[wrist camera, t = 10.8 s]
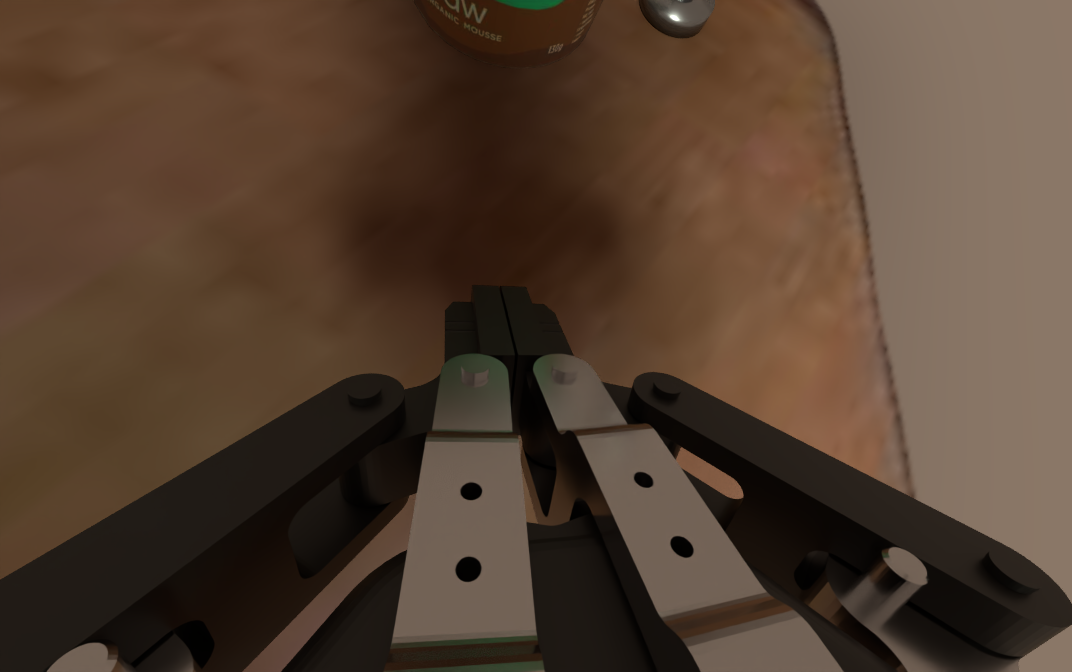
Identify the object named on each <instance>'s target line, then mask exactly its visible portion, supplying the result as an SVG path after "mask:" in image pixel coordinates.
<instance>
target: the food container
mask: <svg viewBox="0 0 1072 672" xmlns="http://www.w3.org/2000/svg"><path fill="white" fill-rule="evenodd" d="M602 1H603V0H414V3H415V5H416V6H417V8H418V9H419V11H420V13H421V14H422V16H423V17H424V19H425V20H426V22H427V24H428V25H429V27H430V28H431V29H432V30H433V31H434V32H436V33H437V34H438V35H439V36H440V37H441V38H442V39H443V40H444V41H445V42H447V43H448V44H449V45H451V46H452V47H454V48H455V49H457V50H458V51H460V52H462V53H464V54H466V55H468V56H470V57H472V58H474V59H476V60H479V61H482V62H485V63H488V64H492V65H496V66H501V67H508V68H533V67H539V66H543V65H548V64H550V63H553V62H556V61H558V60H560V59H562V58H564V57H565V56H567V55H568V54H570V53H571V52H572V51H573V50H575V49H576V48H577V47H578V46H579V45H580V43H581V42H582V40H583V39H584V38H585V36H586V34H587V32H588V30H589V28H590V26H591V24H592V22H593V20H594V18H595V16H596V14H597V12H598V10H599V8H600V6H601V3H602Z"/></svg>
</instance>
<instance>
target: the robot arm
mask: <svg viewBox="0 0 1072 672" xmlns="http://www.w3.org/2000/svg"><path fill="white" fill-rule="evenodd" d="M518 435H521V438H522V450H521V457H520V449H519V439H518ZM681 447H683V448H684V449H686V450H688V451H689V452H691V453H693V454H694V455H696V456H698V457H699V458H701V459H703V460H704V461H706V462H708V463H709V464H711V465H712V466H714V467H716V468H717V469H719V470H721V471H722V472H724V473H726V474H727V475H729V476H731V477H732V478H734V479H735V480H736V481H737V482H738V483H739V485H740V486H741V488H742V490H743V495H744V497H743V498H741V499H732V498H729V497H726V496H725V495H723V494H721V493H720V492H718V491H717V490H715V489H713V488H712V487H710V486H709V485H707V484H706V483H704V482H702V481H701V480H699V479H698V478H696V477H694V476H693V475H691V474H690V473H688V472H687V471H685V470H683V469H682V468H681V467H680V466H679V464H678V463H677V462H676V458H677V455H678V453H679V451H680V448H681ZM521 465H522V469H523V472H524V476H525V479H526V483H527V486H528V490H529V493H530V497H531V500H532V504H533V507H534V511H535V515H536V518H537V522H538V524H535V523H529V522H526V514H525V503H524V492H523V481H522V470H521ZM415 493H417V496H416V502H415V508H414V514H413V520H412V526H411V532H410V538H409V544H408V550H406V551H404V552H402V553H400V554H398V555H396V556H395V557H393V558H391V559H390V560H388V561H386V562H385V563H383V564H382V565H381V566H379V567H378V568H377V569H375V570H374V571H373V572H372V573H370V574H369V575H368V576H367V577H366V578H365V579H364V580H362V581H361V582H360V583H359V584H358V585H357V586H356V587H355V588H354V589H353V590H352V591H351V592H350V593H349V594H348V595H347V597H346V598H345V599H344V600H343V601H342V602H341V603H340V605H339V606H338V607H337V608H336V609H335V610H334V611H333V613H332V614H331V615H330V616H329V617H328V618H327V620H326V621H325V622H324V623H323V624H322V625H321V626H320V628H319V629H318V630H317V631H316V632H315V633H314V634H313V636H312V637H311V638H310V639H309V640H308V641H307V643H306V644H305V645H304V646H303V647H302V648H301V649H300V651H299V652H298V653H297V654H296V655H295V656H294V658H293V659H292V660H291V661H290V662H289V663H288V664H287V666H286V667H285V668H284V669H283V670H282V671H281V672H1019V666H1018V662H1019V660H1020V659H1021V658H1022V657H1024V656H1025V655H1027V654H1028V653H1030V652H1031V651H1032V650H1034V649H1036V648H1037V647H1039V646H1040V645H1042V644H1043V643H1045V642H1046V641H1048V640H1049V639H1051V638H1052V637H1054V636H1055V635H1057V634H1058V633H1060V632H1061V631H1063V630H1064V629H1066V628H1067V627H1069V626H1070V625H1072V604H1071V602H1070V600H1069V599H1068V597H1067V596H1066V594H1065V593H1064V592H1063V590H1062V589H1061V588H1060V587H1059V586H1058V585H1057V584H1056V583H1055V582H1054V581H1053V580H1052V579H1051V578H1050V577H1049V576H1048V575H1047V574H1046V573H1045V572H1043V571H1042V570H1041V569H1040V568H1039V567H1037V566H1036V565H1035V564H1034V563H1032V562H1031V561H1030V560H1028V559H1026V558H1025V557H1024V556H1022V555H1021V554H1019V553H1017V552H1016V551H1014V550H1013V549H1011V548H1009V547H1007V546H1005V545H1004V544H1002V543H1000V542H998V541H995V540H994V539H992V538H990V537H988V536H986V535H984V534H982V533H980V532H978V531H976V530H974V529H972V528H970V527H968V526H966V525H965V524H963V523H961V522H959V521H956V520H955V519H953V518H951V517H949V516H947V515H945V514H943V513H941V512H939V511H937V510H935V509H933V508H931V507H929V506H927V505H925V504H923V503H921V502H919V501H918V500H916V499H914V498H912V497H910V496H908V495H906V494H904V493H902V492H900V491H898V490H896V489H894V488H892V487H890V486H888V485H886V484H884V483H882V482H880V481H878V480H876V479H874V478H872V477H870V476H869V475H867V474H865V473H863V472H861V471H859V470H857V469H855V468H853V467H851V466H849V465H847V464H845V463H843V462H841V461H839V460H837V459H835V458H833V457H831V456H829V455H827V454H825V453H823V452H821V451H820V450H818V449H816V448H814V447H812V446H810V445H808V444H806V443H804V442H802V441H800V440H798V439H796V438H794V437H792V436H790V435H788V434H786V433H784V432H782V431H780V430H778V429H776V428H774V427H772V426H771V425H769V424H767V423H765V422H763V421H761V420H759V419H757V418H755V417H753V416H751V415H749V414H747V413H745V412H743V411H741V410H739V409H737V408H735V407H733V406H731V405H729V404H727V403H725V402H723V401H722V400H720V399H718V398H716V397H714V396H712V395H710V394H708V393H706V392H704V391H702V390H700V389H698V388H696V387H694V386H692V385H690V384H688V383H686V382H684V381H682V380H680V379H678V378H676V377H674V376H671V375H668V374H664V373H657V372H649V373H644V374H641V375H639V376H637V377H636V378H635V380H634V383H633V386H632V388H628V387H623V386H618V385H613V384H608V383H604V382H601V381H600V379H599V377H598V376H597V374H596V372H595V371H594V369H593V368H592V367H591V366H590V365H589V364H588V363H587V362H585V361H583V360H582V359H580V358H577V357H574V355H573V353H572V351H571V348H570V346H569V344H568V342H567V340H566V337H565V335H564V333H563V331H562V328H561V326H560V325H559V322H558V320H557V317H556V315H555V313H554V312H553V311H552V310H550V309H549V308H548V307H547V306H545V305H544V304H532V302H531V299H530V296H529V294H528V291H527V288H526V287H515V286H500V287H499V286H485V285H472V292H471V302H452V304H451V305H450V306H449V307H448V308H447V309H446V310H445V364H444V365H443V367H442V370H441V374H440V375H439V376H438V377H437V378H435V379H434V380H432V381H430V382H428V383H426V384H424V385H421V386H417V387H413V388H409V389H405V390H404V388H403V386H402V385H401V383H400V382H399V381H397V380H396V379H394V378H392V377H390V376H387V375H382V374H361V375H355V376H352V377H349V378H346V379H344V380H342V381H340V382H338V383H336V384H334V385H333V386H331V387H329V388H328V389H326V390H324V391H322V392H321V393H319V394H317V395H316V396H314V397H312V398H310V399H309V400H307V401H305V402H304V403H302V404H300V405H298V406H297V407H295V408H293V409H292V410H290V411H288V412H286V413H285V414H283V415H281V416H280V417H278V418H276V419H274V420H273V421H271V422H269V423H268V424H266V425H264V426H262V427H261V428H259V429H257V430H256V431H254V432H252V433H251V434H249V435H247V436H245V437H244V438H242V439H240V440H239V441H237V442H235V443H233V444H232V445H230V446H228V447H227V448H225V449H223V450H221V451H220V452H218V453H216V454H215V455H213V456H211V457H209V458H208V459H206V460H204V461H203V462H201V463H199V464H197V465H196V466H194V467H192V468H191V469H189V470H187V471H186V472H184V473H182V474H180V475H179V476H177V477H175V478H174V479H172V480H170V481H168V482H167V483H165V484H163V485H162V486H160V487H158V488H156V489H155V490H153V491H151V492H150V493H148V494H146V495H144V496H143V497H141V498H139V499H138V500H136V501H134V502H132V503H131V504H129V505H127V506H126V507H124V508H122V509H121V510H119V511H117V512H115V513H114V514H112V515H110V516H109V517H107V518H105V519H103V520H102V521H100V522H98V523H97V524H95V525H93V526H91V527H90V528H88V529H86V530H85V531H83V532H81V533H79V534H78V535H76V536H74V537H73V538H71V539H69V540H67V541H66V542H64V543H62V544H61V545H59V546H57V547H56V548H54V549H52V550H50V551H49V552H47V553H45V554H44V555H42V556H40V557H38V558H37V559H35V560H33V561H32V562H30V563H28V564H26V565H25V566H23V567H21V568H20V569H18V570H16V571H14V572H13V573H11V574H9V575H8V576H6V577H4V578H2V579H1V580H0V672H242V671H243V670H244V669H245V668H246V667H247V666H248V665H249V664H250V663H251V662H252V661H253V660H254V659H255V658H256V657H257V656H258V655H259V654H260V653H261V652H262V651H263V650H264V649H265V648H266V647H267V646H268V645H269V644H270V643H271V642H272V641H273V640H274V639H275V638H276V637H277V636H278V635H279V634H280V633H281V632H282V631H283V630H284V629H285V628H286V627H287V626H288V625H289V624H290V623H291V621H292V620H293V619H294V618H295V617H296V616H297V615H298V614H299V613H300V612H301V611H302V610H303V609H304V608H305V607H306V606H307V605H308V604H309V603H310V602H311V601H312V600H313V599H314V598H315V597H316V596H317V595H318V594H319V593H320V592H321V591H322V590H323V589H324V588H325V587H326V586H327V585H328V584H329V583H330V582H331V581H332V580H333V579H334V578H335V577H336V576H337V575H338V574H339V573H340V572H341V571H342V570H343V569H344V568H345V567H346V566H347V565H348V564H349V563H350V562H351V561H352V560H353V559H354V558H355V556H356V555H357V554H358V553H359V552H360V551H361V550H362V549H363V548H364V547H365V546H366V545H367V544H368V543H369V542H370V541H371V540H372V539H373V538H374V537H375V536H376V535H377V534H378V533H379V532H380V531H381V530H382V529H383V528H384V527H385V526H386V525H387V524H388V523H389V522H390V521H391V520H392V519H393V518H394V517H395V516H396V515H397V514H398V513H399V512H400V511H401V510H402V508H403V507H404V506H405V504H406V503H407V501H408V498H409V495H412V494H415Z"/></svg>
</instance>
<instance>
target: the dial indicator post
mask: <svg viewBox="0 0 1072 672" xmlns="http://www.w3.org/2000/svg"><path fill="white" fill-rule="evenodd" d="M639 3H640V7H641V10H642V12H643V14H644V16H645V17H646V19H647V20H648V21H649V22H650V23H651V24H652V25H653V26H654V27H655V28H656V29H658V30H659V31H661V32H662V33H664V34H667V35H669V36H672V37H676V38H689V37H692V36H694V35H696V34H697V33H699V32H700V30H701V29H702V27H703V26H704V24H705V23H706V21H707V19H708V18H709V16H710V15H711V13H712V11H713V9H714V6H715V0H639Z"/></svg>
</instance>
